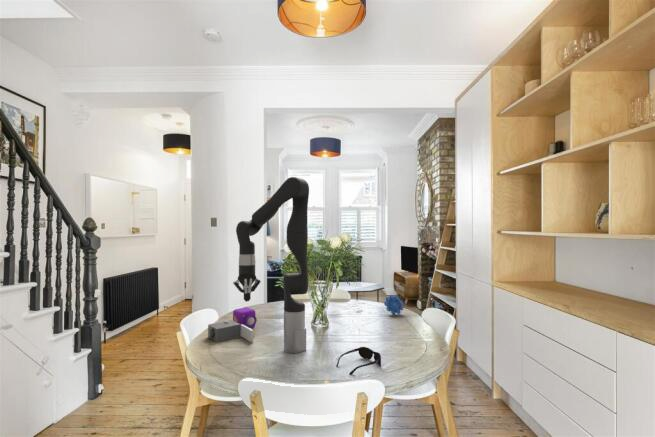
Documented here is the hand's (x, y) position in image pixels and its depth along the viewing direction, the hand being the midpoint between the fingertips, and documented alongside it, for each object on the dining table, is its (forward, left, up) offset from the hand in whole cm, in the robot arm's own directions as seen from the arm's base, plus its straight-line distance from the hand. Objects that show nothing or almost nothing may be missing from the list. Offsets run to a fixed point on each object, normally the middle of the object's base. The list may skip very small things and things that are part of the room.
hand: (247, 301), depth 162 cm
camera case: (+15, +4, -19) cm, 24 cm away
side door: (+4, -2, -19) cm, 19 cm away
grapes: (-16, -90, -19) cm, 93 cm away
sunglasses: (-53, -19, -20) cm, 60 cm away
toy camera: (+21, -11, -19) cm, 30 cm away
